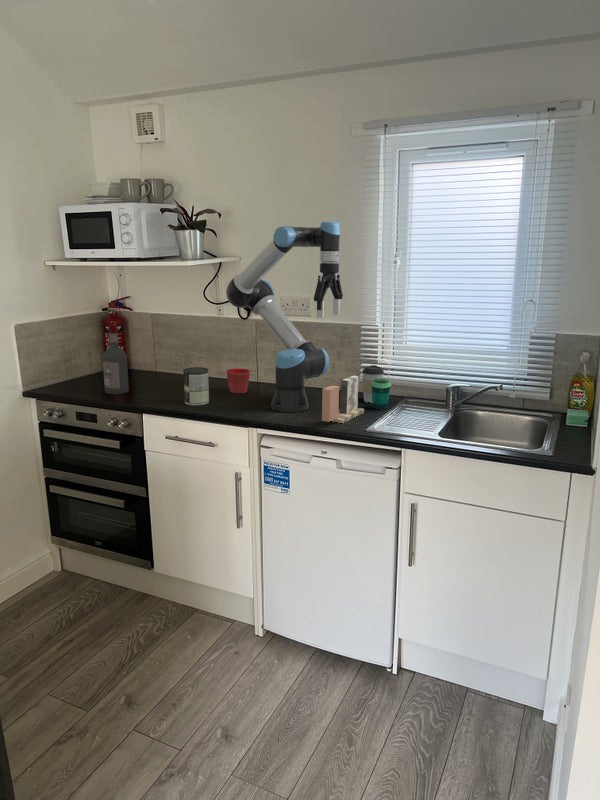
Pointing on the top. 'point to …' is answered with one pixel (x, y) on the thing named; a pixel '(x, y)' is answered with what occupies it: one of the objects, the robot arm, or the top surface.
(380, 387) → the cup
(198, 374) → the coffee can
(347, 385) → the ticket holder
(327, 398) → the salmon orange block
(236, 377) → the flower pot
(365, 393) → the coffee cup
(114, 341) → the liquor
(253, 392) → the top surface
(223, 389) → the top surface
